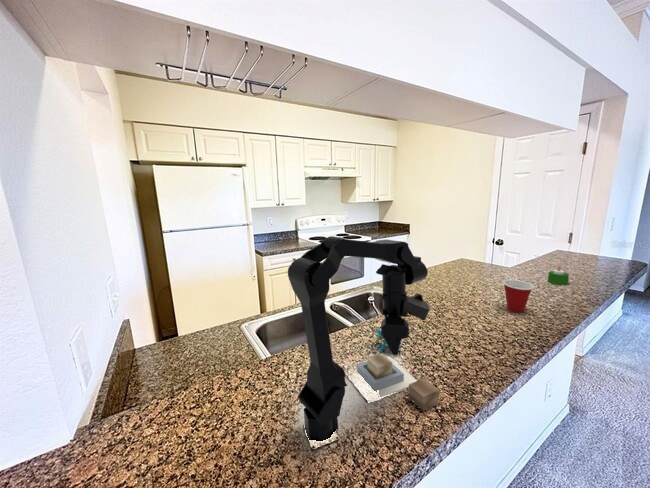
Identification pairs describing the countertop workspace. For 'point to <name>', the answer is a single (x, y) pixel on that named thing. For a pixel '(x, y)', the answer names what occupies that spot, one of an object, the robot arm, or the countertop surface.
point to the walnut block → (424, 394)
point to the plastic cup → (517, 294)
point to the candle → (558, 277)
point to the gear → (382, 340)
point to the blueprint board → (387, 379)
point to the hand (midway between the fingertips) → (394, 345)
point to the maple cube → (379, 366)
